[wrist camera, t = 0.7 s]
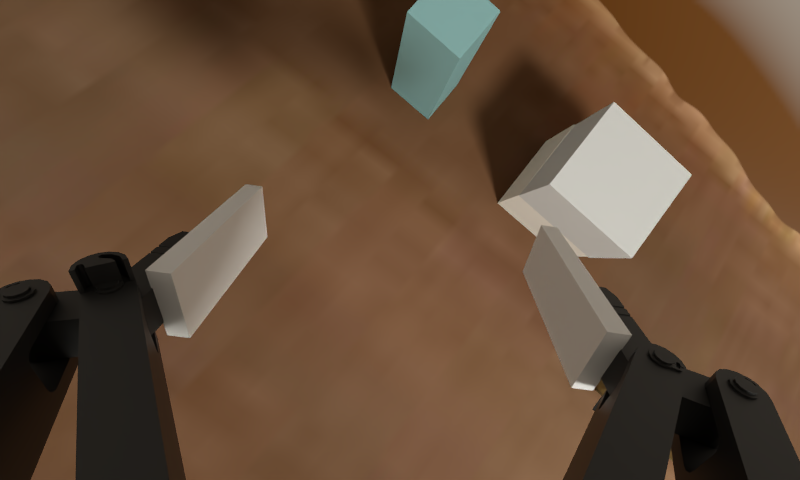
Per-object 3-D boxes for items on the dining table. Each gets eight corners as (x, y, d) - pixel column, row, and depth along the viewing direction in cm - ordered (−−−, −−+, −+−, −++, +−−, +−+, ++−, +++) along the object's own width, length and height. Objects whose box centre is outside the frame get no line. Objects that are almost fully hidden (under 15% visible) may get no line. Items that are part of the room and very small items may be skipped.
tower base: (496, 203, 36) (519, 195, 31) (545, 141, 37) (574, 124, 32) (558, 256, 37) (589, 256, 32) (604, 194, 38) (641, 185, 33)
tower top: (518, 195, 31) (549, 184, 26) (574, 125, 32) (614, 101, 27) (588, 257, 32) (631, 258, 27) (641, 186, 33) (691, 174, 28)
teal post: (391, 87, 35) (407, 11, 24) (420, 53, 36) (449, -36, 25) (427, 119, 35) (459, 58, 24) (456, 85, 36) (500, 11, 25)
